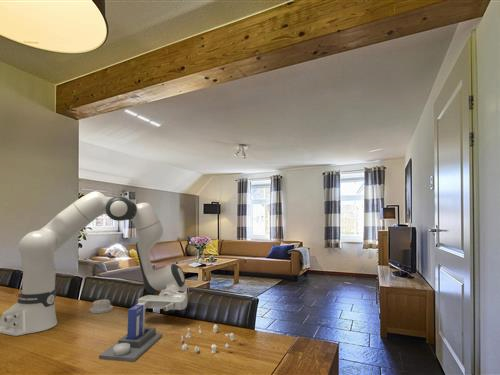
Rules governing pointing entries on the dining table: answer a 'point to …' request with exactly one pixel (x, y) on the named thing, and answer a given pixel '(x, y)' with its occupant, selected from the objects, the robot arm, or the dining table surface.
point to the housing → (131, 346)
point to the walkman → (136, 321)
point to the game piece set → (212, 345)
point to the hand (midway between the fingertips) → (154, 308)
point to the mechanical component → (101, 306)
